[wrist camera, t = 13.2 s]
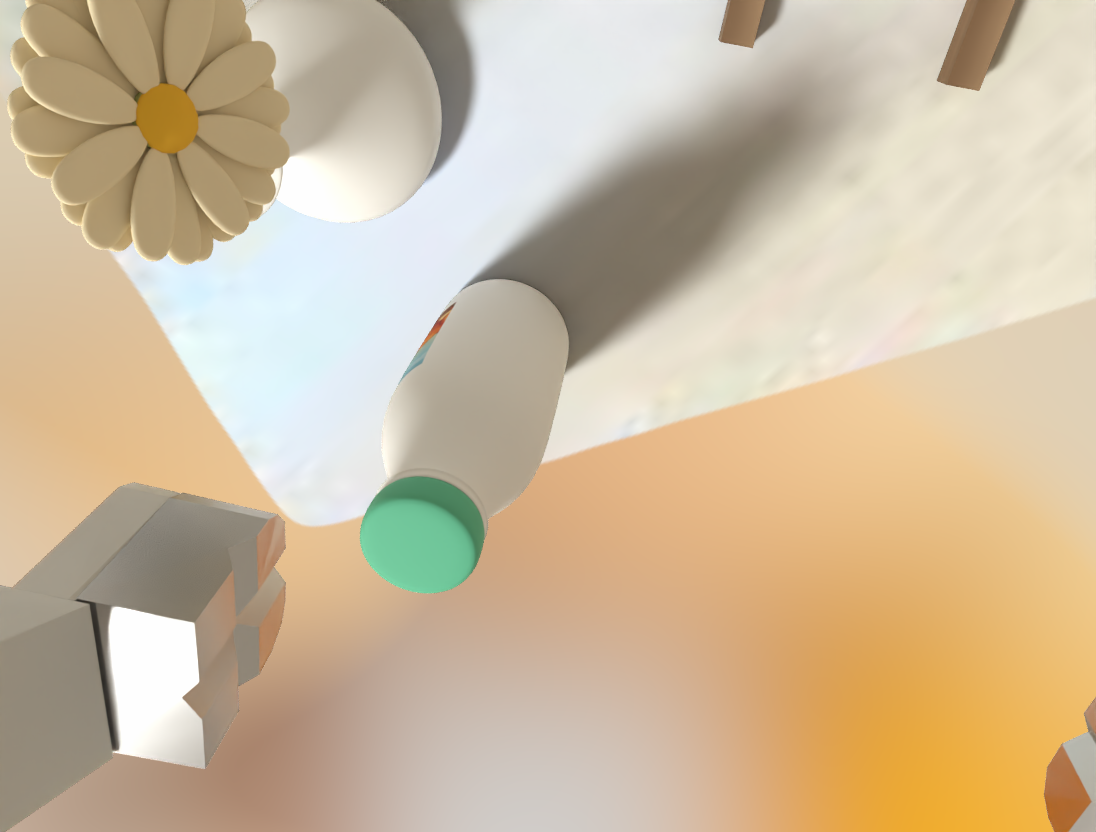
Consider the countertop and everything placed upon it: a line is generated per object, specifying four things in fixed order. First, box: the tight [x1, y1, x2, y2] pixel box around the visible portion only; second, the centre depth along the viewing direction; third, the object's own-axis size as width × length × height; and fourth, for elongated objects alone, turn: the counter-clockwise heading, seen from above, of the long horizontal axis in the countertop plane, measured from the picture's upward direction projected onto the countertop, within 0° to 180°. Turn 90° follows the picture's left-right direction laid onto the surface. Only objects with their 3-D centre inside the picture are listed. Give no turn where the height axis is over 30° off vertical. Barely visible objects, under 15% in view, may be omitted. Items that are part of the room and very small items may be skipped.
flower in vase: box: [7, 0, 442, 265], centre depth 31 cm, size 13×11×25 cm
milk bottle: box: [360, 279, 569, 593], centre depth 39 cm, size 8×8×20 cm
